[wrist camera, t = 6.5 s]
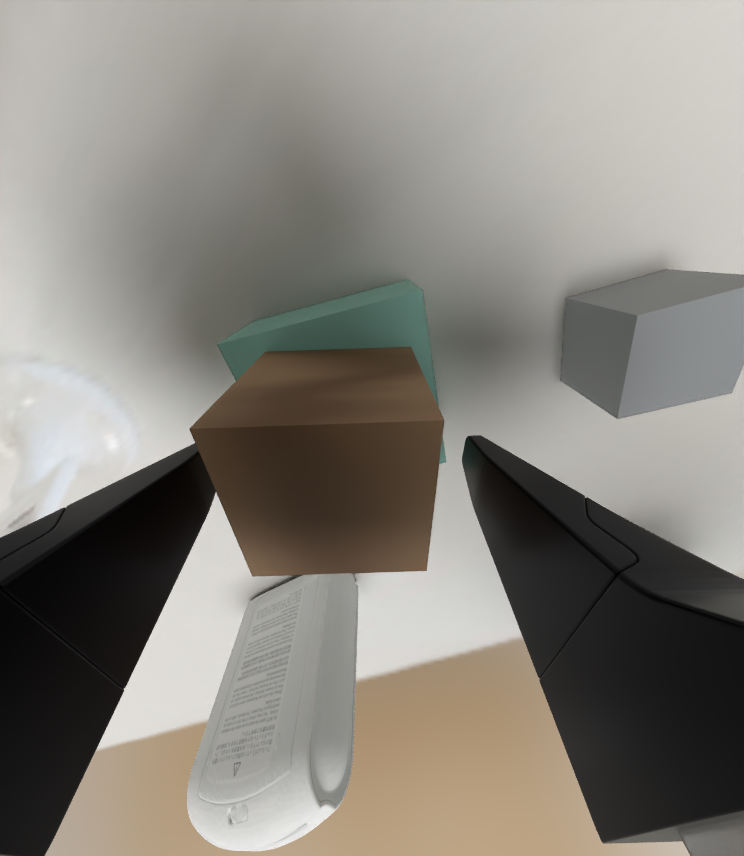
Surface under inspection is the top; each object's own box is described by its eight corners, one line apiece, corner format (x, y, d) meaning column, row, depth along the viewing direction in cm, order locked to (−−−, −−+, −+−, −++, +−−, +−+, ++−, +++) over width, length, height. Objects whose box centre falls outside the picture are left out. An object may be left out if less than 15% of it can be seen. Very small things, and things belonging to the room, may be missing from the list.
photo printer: (277, 619, 27) (220, 859, 16) (241, 599, 25) (149, 856, 14) (366, 580, 24) (367, 845, 13) (332, 554, 22) (301, 839, 11)
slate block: (663, 269, 12) (780, 277, 9) (644, 358, 14) (731, 392, 11) (564, 297, 13) (637, 315, 9) (559, 379, 15) (617, 418, 11)
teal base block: (407, 278, 12) (422, 289, 9) (429, 416, 16) (446, 462, 13) (255, 319, 13) (217, 344, 10) (309, 442, 17) (294, 491, 13)
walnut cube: (411, 346, 10) (444, 420, 6) (406, 461, 13) (426, 570, 8) (265, 351, 10) (189, 429, 6) (291, 465, 13) (252, 576, 8)
